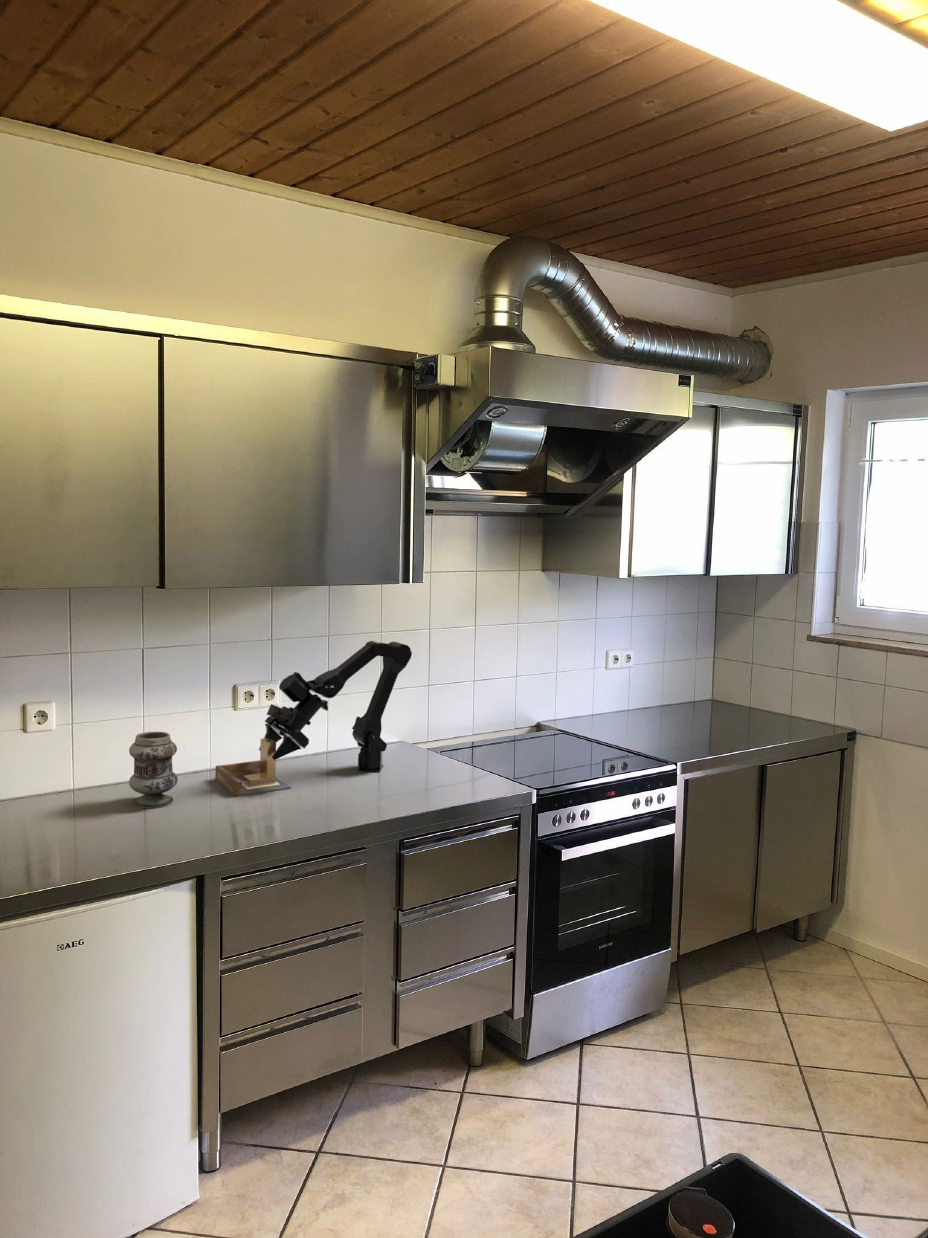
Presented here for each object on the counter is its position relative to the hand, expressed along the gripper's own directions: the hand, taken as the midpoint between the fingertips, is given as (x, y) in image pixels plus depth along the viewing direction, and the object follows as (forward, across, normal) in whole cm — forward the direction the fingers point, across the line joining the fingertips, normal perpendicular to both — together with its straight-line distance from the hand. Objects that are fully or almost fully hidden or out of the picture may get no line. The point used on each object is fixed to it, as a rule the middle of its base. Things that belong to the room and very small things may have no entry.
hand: (266, 754), depth 268 cm
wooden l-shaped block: (+7, 0, +4) cm, 8 cm away
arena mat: (+8, -1, +4) cm, 9 cm away
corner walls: (+8, -1, +4) cm, 9 cm away
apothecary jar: (+28, +2, -16) cm, 33 cm away
